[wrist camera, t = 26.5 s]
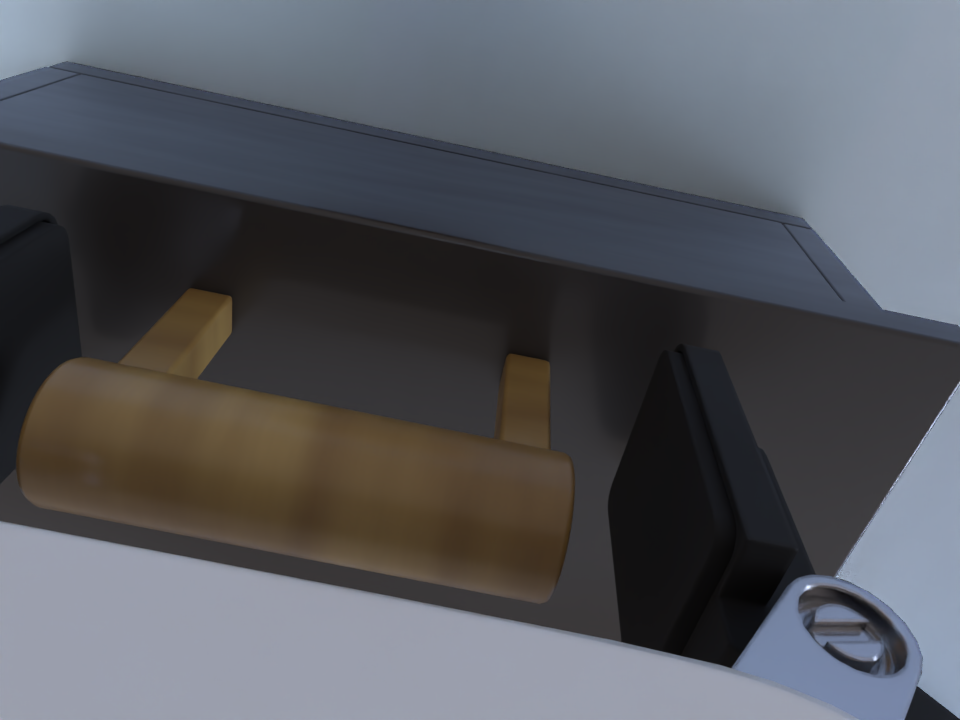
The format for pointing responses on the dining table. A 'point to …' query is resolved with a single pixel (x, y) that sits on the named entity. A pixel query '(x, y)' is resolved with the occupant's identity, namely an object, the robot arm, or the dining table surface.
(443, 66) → the dining table surface
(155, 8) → the dining table surface
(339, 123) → the chest
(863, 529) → the lid
